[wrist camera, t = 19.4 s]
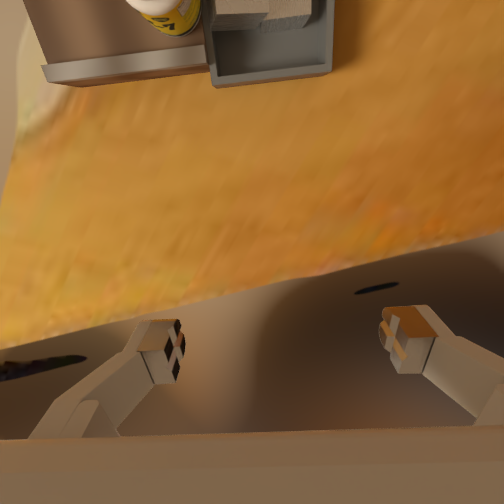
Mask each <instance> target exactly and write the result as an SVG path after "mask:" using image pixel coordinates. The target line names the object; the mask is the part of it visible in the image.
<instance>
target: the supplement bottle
mask: <svg viewBox="0 0 504 504" xmlns="http://www.w3.org/2000/svg"><path fill="white" fill-rule="evenodd" d="M126 1H127V2H128V3H129V5H130V6H132V7H133V8H134V9H135V10H136V11H137V12H138V13H140V14H141V15H142V16H143V17H144V18H145V19H146V20H147V21H148V22H149V23H151V24H152V25H153V26H154V27H155V28H156V29H157V30H159V31H160V32H161V33H163V34H165V35H167V36H171V37H183V36H185V35H187V34H189V33H190V32H191V31H192V30H193V29H194V28H195V26H196V25H197V23H198V21H199V18H200V15H201V9H202V0H126Z"/></svg>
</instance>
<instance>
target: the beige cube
mask: <svg viewBox="0 0 504 504" xmlns="http://www.w3.org/2000/svg"><path fill="white" fill-rule="evenodd" d="M310 15H311V0H269V13H268V15H267V16H266V17H265V18H264V19H263V20H262V22H261V23H260V34H263V33H271V32H279V31H287V30H295V29H303V27H304V25H305V24H306V22H307V20H308V19H309V17H310Z"/></svg>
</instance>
